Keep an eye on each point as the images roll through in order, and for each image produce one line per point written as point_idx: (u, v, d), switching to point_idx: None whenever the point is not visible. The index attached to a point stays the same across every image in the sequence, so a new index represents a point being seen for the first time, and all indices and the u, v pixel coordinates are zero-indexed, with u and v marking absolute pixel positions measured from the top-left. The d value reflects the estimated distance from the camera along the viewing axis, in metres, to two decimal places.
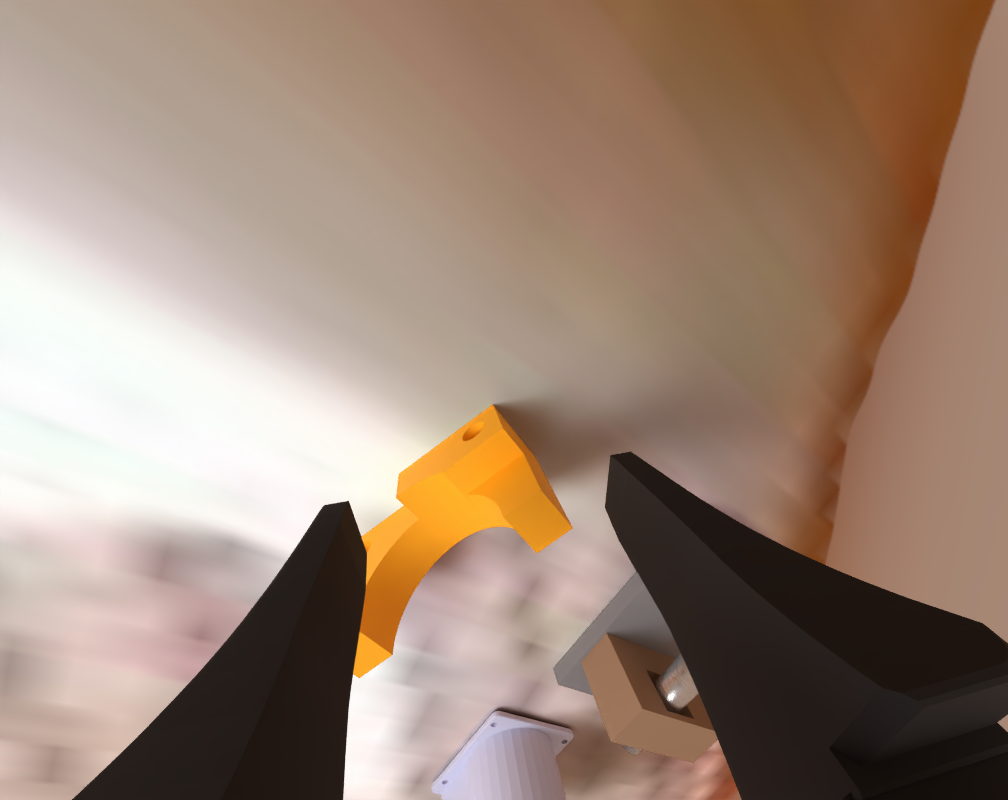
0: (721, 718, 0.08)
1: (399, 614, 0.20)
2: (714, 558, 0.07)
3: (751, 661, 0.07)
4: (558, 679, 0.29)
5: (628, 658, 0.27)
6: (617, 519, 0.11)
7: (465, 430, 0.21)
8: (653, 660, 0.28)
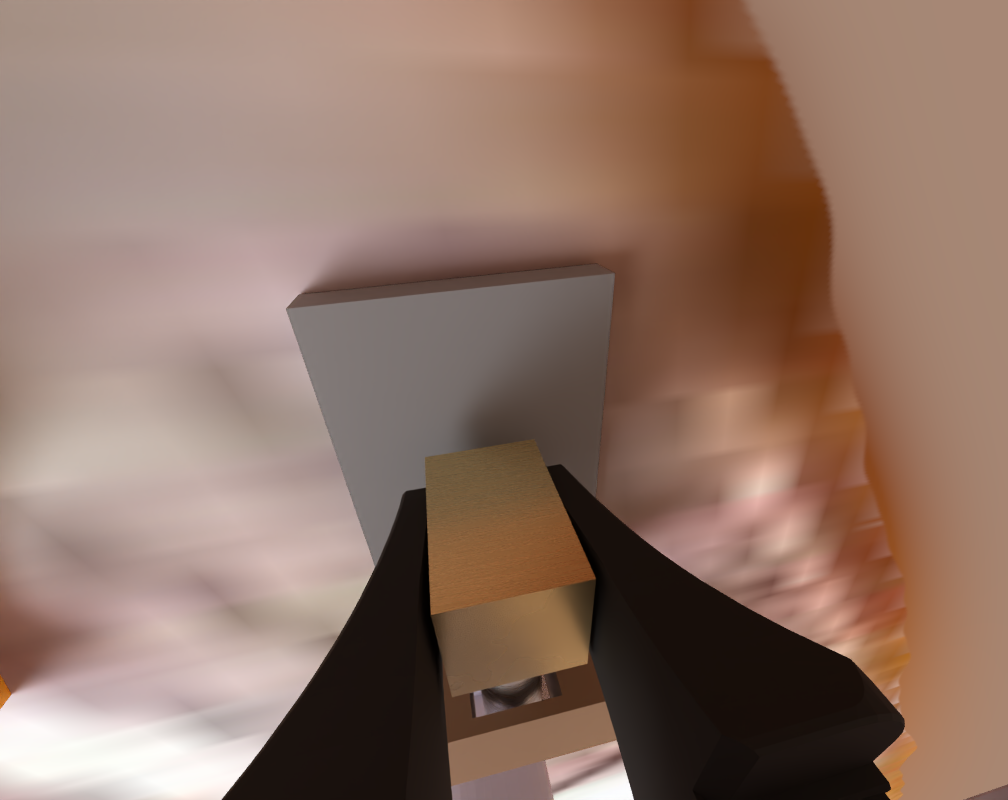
0: (625, 745, 0.08)
1: None
2: (610, 581, 0.07)
3: (639, 690, 0.06)
4: None
5: None
6: None
7: None
8: None
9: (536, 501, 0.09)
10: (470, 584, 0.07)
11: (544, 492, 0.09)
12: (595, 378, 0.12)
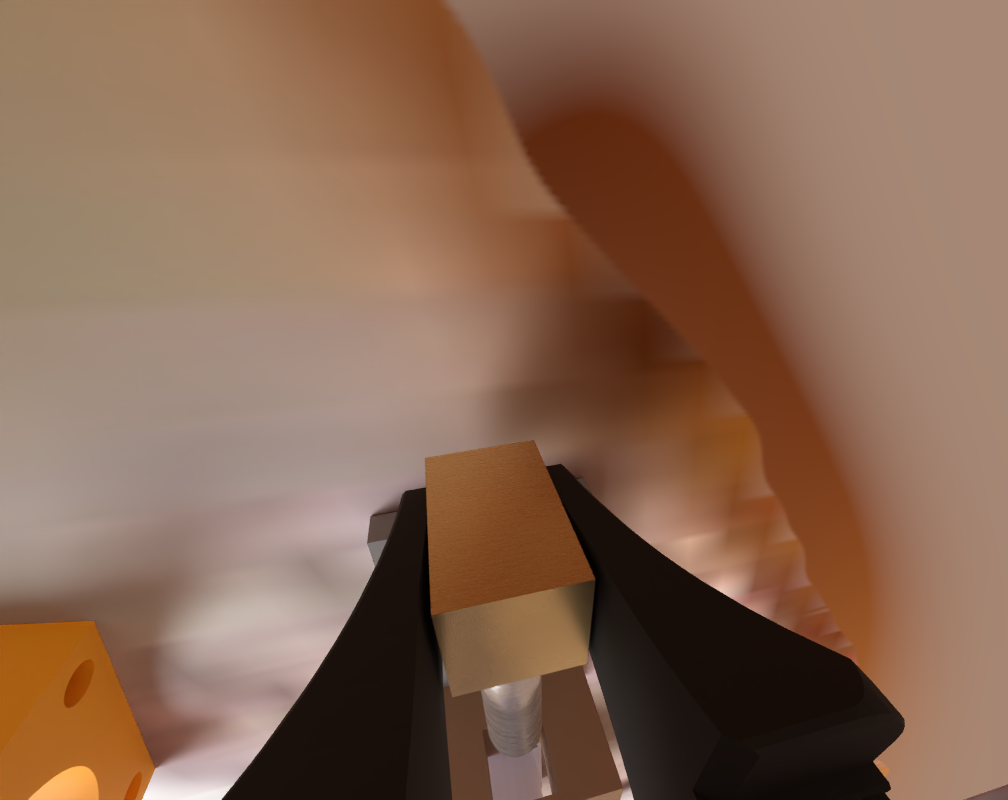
0: (625, 745, 0.08)
1: None
2: (610, 581, 0.07)
3: (639, 691, 0.06)
4: None
5: (450, 727, 0.17)
6: None
7: None
8: None
9: (536, 502, 0.09)
10: (470, 585, 0.07)
11: (544, 493, 0.09)
12: None
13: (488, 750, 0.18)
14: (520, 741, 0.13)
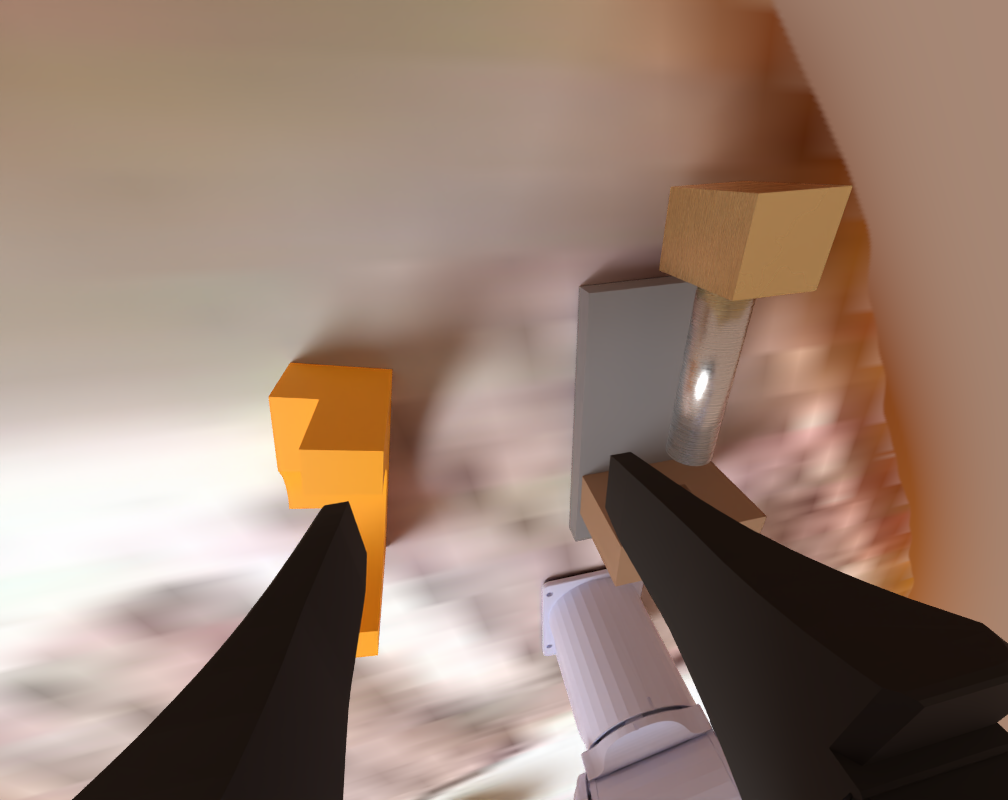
0: (721, 718, 0.08)
1: (377, 589, 0.19)
2: (714, 558, 0.07)
3: (751, 661, 0.07)
4: (574, 536, 0.26)
5: None
6: (617, 519, 0.11)
7: None
8: None
9: (777, 184, 0.13)
10: (770, 191, 0.11)
11: (779, 183, 0.13)
12: None
13: None
14: (707, 443, 0.17)
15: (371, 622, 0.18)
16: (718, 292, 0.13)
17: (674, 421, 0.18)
